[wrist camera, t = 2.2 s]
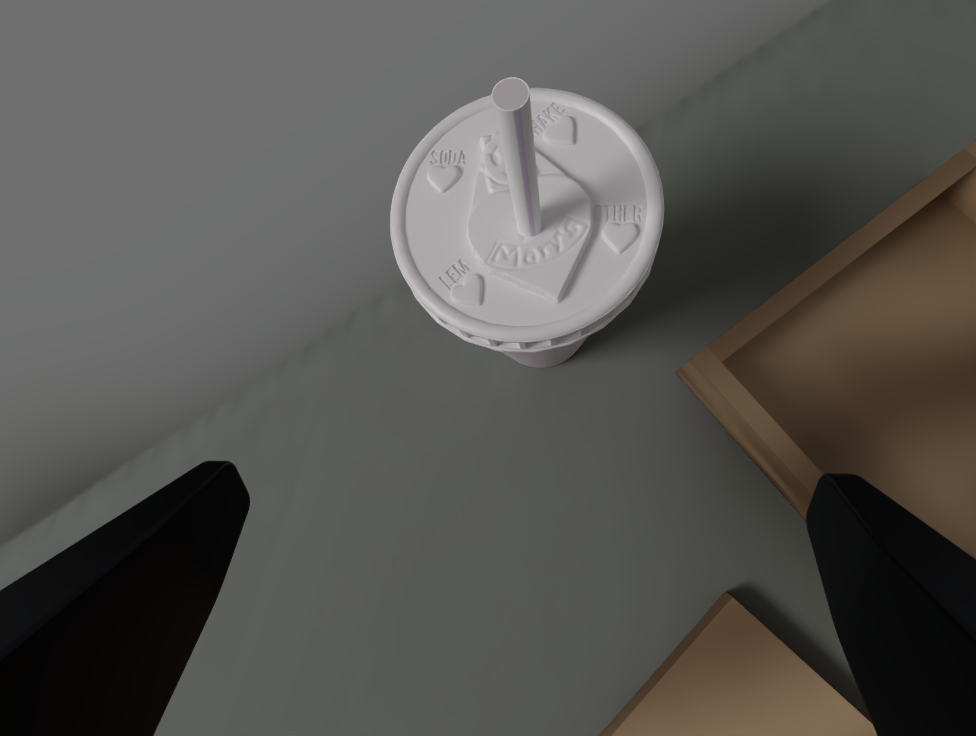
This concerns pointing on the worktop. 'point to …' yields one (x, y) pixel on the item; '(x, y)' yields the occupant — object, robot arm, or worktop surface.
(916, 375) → the wooden tray
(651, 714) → the lid
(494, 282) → the smoothie
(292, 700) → the worktop surface
